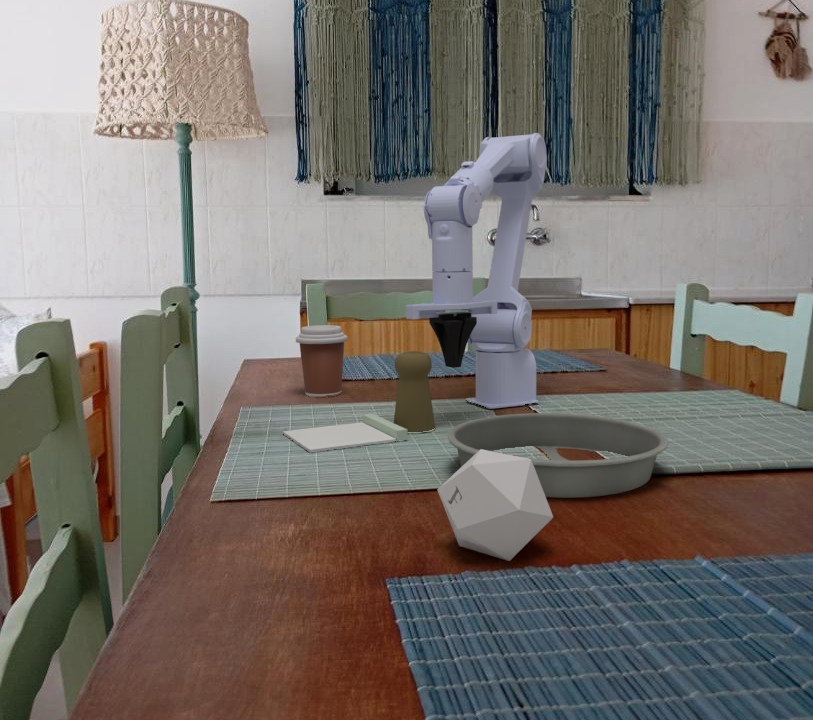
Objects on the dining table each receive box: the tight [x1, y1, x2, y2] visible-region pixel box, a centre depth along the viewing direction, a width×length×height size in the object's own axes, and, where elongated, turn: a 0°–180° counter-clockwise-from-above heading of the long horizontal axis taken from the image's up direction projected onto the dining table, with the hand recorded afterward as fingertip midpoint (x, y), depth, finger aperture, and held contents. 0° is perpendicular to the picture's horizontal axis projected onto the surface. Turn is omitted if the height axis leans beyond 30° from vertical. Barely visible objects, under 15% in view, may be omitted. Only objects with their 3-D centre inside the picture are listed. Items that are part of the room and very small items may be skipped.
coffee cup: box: [295, 324, 348, 396], centre depth 144 cm, size 9×9×12 cm
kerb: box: [362, 413, 409, 442], centre depth 114 cm, size 2×12×2 cm, turn 25°
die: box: [437, 449, 554, 562], centre depth 69 cm, size 8×9×10 cm
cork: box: [393, 351, 436, 432], centre depth 115 cm, size 6×6×11 cm
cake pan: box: [447, 412, 669, 499], centre depth 93 cm, size 25×25×4 cm
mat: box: [282, 421, 397, 454], centre depth 111 cm, size 12×12×1 cm
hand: (453, 366), depth 117 cm, fingers closed
